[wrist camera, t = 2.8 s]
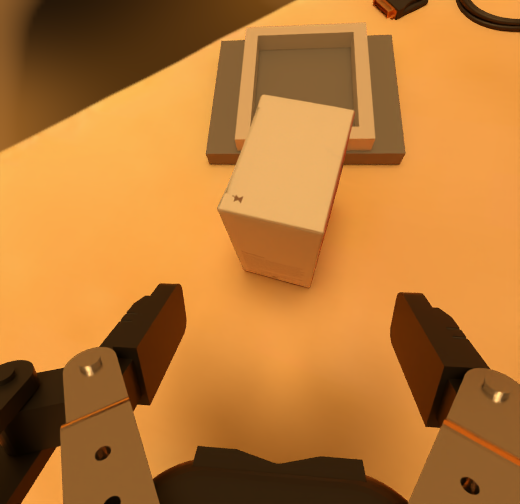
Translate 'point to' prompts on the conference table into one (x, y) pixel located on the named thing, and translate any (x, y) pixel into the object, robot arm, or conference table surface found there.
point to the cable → (400, 3)
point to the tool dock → (310, 86)
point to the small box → (286, 187)
